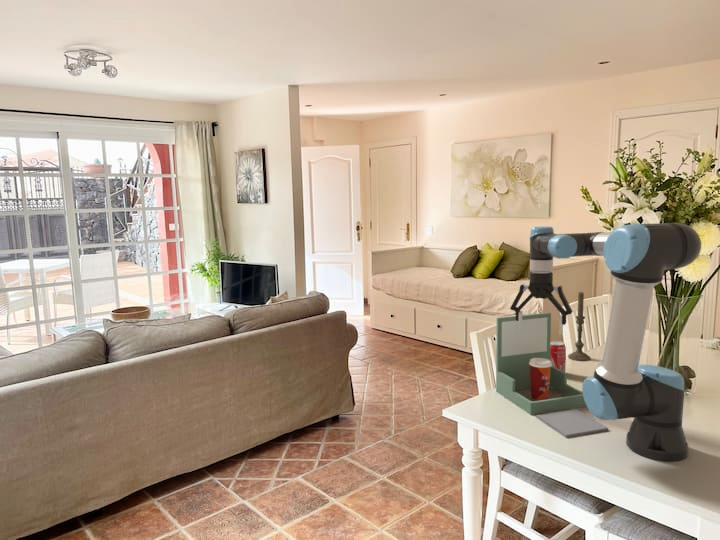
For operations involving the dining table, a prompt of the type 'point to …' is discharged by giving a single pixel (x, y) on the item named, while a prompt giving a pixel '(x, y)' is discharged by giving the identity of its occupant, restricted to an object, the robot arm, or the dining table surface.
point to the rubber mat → (571, 423)
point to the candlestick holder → (579, 332)
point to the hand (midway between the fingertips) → (540, 331)
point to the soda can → (558, 354)
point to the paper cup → (540, 378)
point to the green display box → (515, 359)
